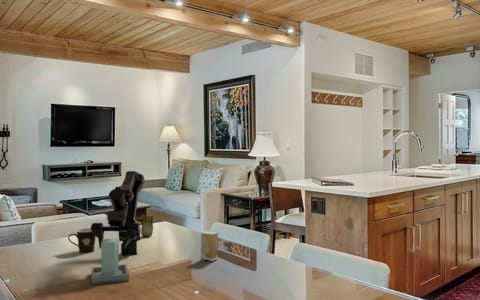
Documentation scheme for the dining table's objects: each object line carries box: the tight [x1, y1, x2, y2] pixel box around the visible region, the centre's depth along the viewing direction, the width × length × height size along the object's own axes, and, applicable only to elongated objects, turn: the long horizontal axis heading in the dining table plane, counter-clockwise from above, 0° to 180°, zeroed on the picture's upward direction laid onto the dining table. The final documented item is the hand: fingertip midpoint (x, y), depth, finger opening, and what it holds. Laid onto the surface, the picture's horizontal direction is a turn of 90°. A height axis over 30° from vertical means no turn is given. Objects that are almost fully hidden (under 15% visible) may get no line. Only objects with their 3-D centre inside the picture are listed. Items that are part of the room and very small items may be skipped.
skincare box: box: [200, 230, 219, 261], centre depth 176 cm, size 6×4×12 cm
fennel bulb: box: [140, 214, 154, 238], centre depth 220 cm, size 6×5×12 cm
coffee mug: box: [67, 227, 97, 254], centre depth 189 cm, size 12×9×10 cm
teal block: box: [100, 238, 119, 276], centre depth 152 cm, size 5×5×13 cm
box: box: [91, 263, 130, 286], centre depth 152 cm, size 13×13×2 cm
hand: (112, 247), depth 155 cm, fingers open, 9 cm apart
